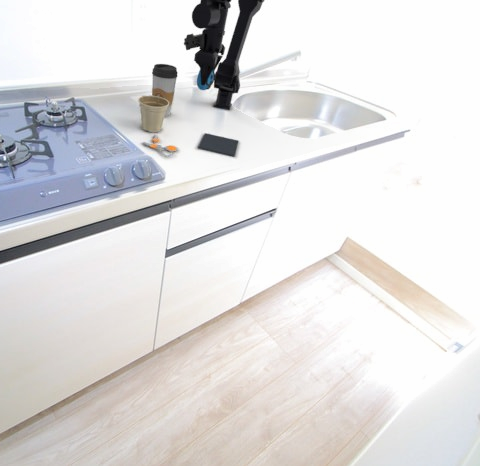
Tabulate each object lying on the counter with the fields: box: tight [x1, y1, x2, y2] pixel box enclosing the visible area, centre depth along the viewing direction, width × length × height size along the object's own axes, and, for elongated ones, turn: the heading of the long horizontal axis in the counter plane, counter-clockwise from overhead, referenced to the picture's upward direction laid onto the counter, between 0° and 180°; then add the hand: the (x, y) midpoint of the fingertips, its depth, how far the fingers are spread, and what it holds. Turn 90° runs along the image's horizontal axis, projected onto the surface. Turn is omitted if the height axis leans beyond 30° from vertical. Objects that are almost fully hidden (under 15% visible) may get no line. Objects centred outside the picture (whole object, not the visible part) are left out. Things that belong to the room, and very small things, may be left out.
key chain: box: [142, 134, 178, 157], centre depth 95 cm, size 13×7×1 cm, turn 39°
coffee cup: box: [151, 63, 178, 118], centre depth 110 cm, size 8×8×15 cm
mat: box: [197, 132, 239, 157], centre depth 100 cm, size 11×11×1 cm
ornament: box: [196, 68, 216, 91], centre depth 105 cm, size 8×5×10 cm, turn 149°
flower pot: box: [137, 95, 169, 133], centre depth 101 cm, size 9×9×9 cm
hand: (205, 82), depth 107 cm, fingers closed on ornament, 8 cm apart
